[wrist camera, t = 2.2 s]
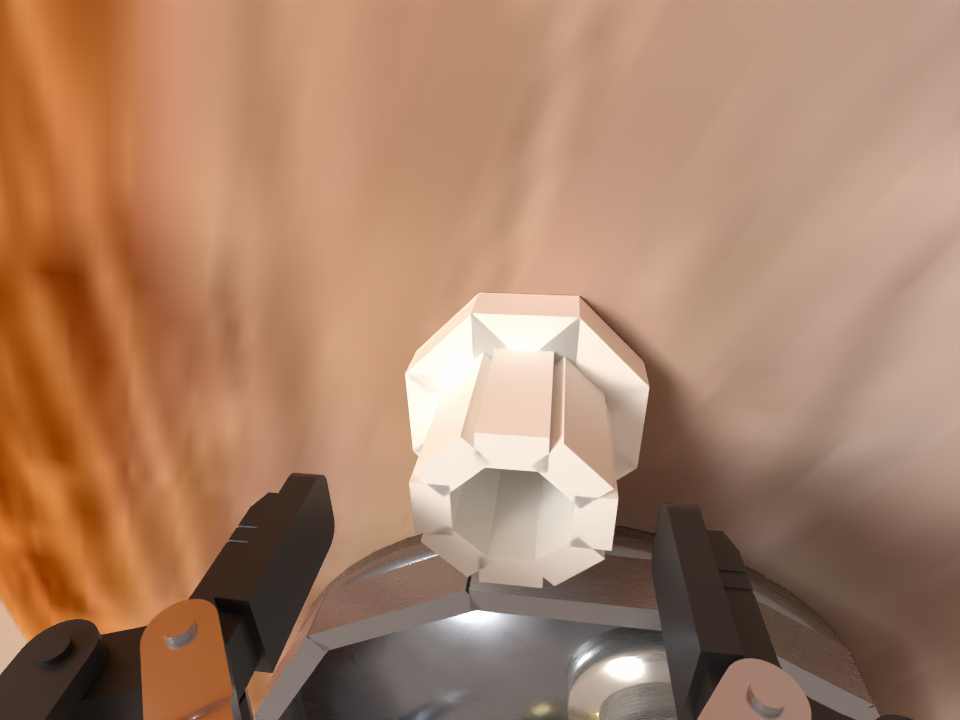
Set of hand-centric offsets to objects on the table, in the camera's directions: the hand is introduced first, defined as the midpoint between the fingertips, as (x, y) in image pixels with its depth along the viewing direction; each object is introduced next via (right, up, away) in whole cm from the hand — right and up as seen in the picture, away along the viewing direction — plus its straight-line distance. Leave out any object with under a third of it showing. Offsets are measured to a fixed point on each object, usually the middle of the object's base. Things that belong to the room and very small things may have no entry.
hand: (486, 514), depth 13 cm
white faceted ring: (+1, +3, +5) cm, 6 cm away
